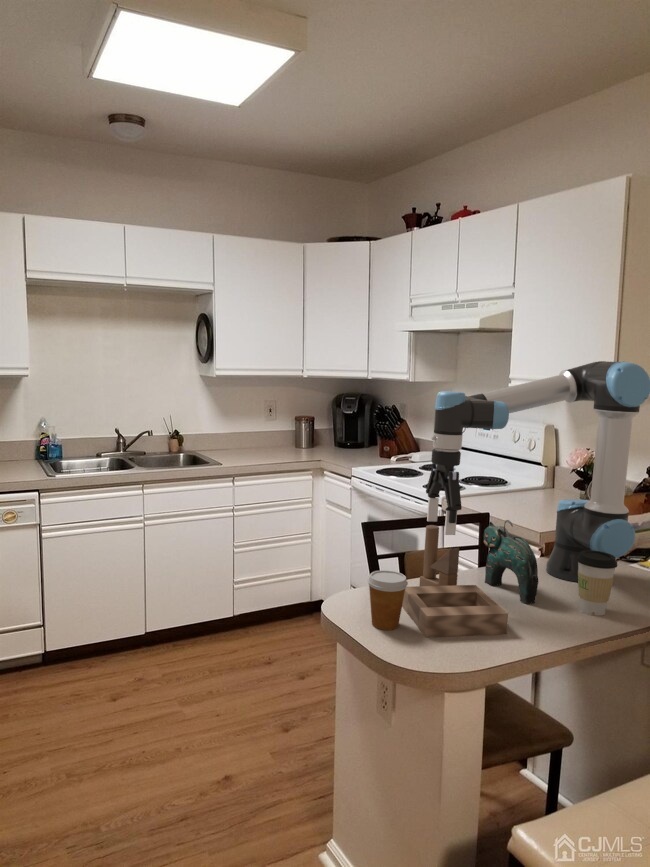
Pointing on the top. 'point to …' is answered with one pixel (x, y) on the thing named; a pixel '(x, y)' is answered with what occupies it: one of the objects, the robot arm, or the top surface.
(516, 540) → the teal animal figurine
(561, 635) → the top surface
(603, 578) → the coffee cup
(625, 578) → the top surface
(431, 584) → the wooden post with wedge
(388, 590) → the disposable coffee cup
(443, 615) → the walnut slotted base
